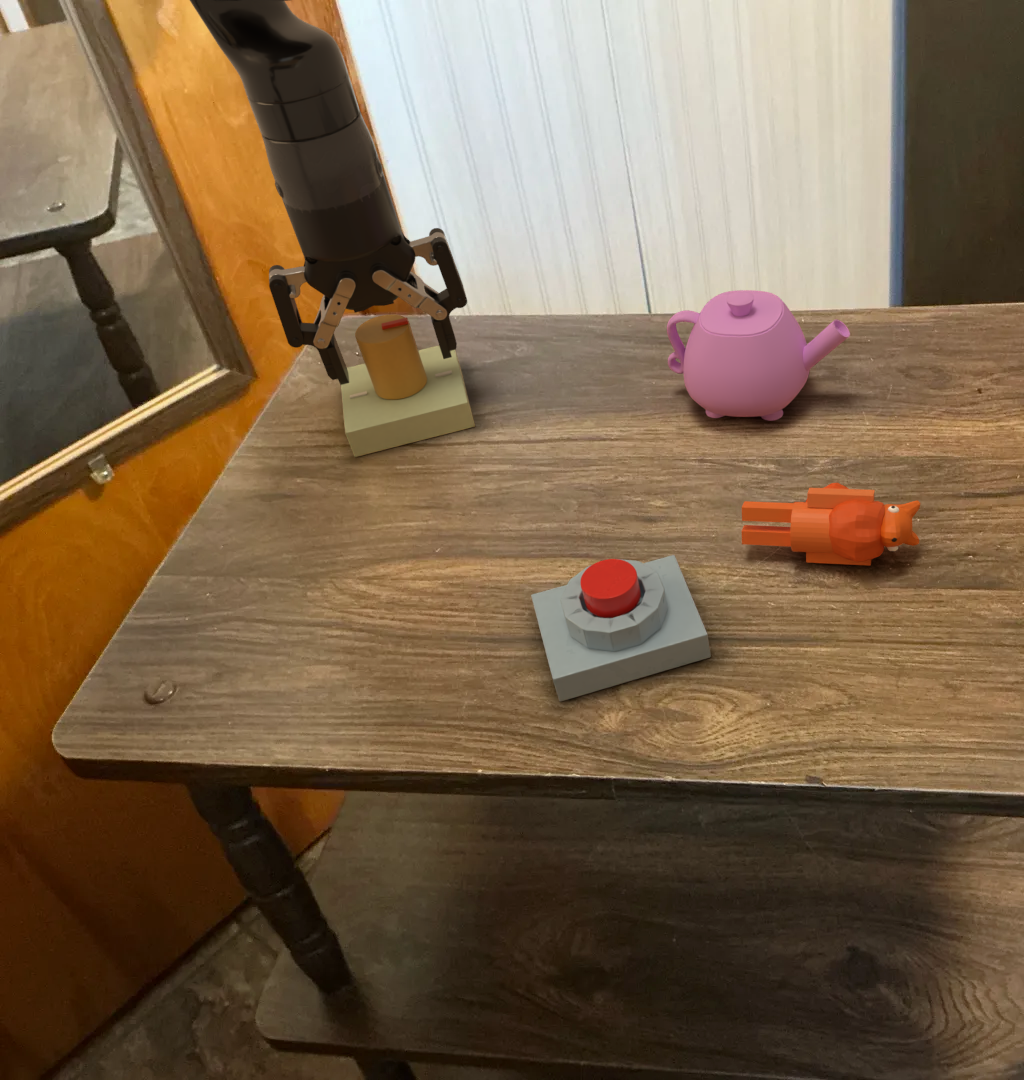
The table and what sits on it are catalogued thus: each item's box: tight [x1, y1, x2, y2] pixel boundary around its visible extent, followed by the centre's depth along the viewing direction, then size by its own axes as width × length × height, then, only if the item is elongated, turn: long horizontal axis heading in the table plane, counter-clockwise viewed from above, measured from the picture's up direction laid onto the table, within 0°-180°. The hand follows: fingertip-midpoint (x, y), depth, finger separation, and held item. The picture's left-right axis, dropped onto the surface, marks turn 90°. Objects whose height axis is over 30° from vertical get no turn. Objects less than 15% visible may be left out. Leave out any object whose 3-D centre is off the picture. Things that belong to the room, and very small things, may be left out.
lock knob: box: [354, 313, 427, 400], centre depth 94 cm, size 4×4×6 cm
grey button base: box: [530, 554, 712, 702], centre depth 74 cm, size 10×8×4 cm
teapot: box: [666, 289, 851, 422], centre depth 91 cm, size 10×15×9 cm
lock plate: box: [340, 345, 476, 458], centre depth 97 cm, size 10×10×3 cm
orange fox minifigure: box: [741, 482, 921, 566], centre depth 78 cm, size 5×8×12 cm
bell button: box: [580, 558, 641, 618], centre depth 72 cm, size 4×4×2 cm
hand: (395, 366), depth 95 cm, fingers open, 8 cm apart
